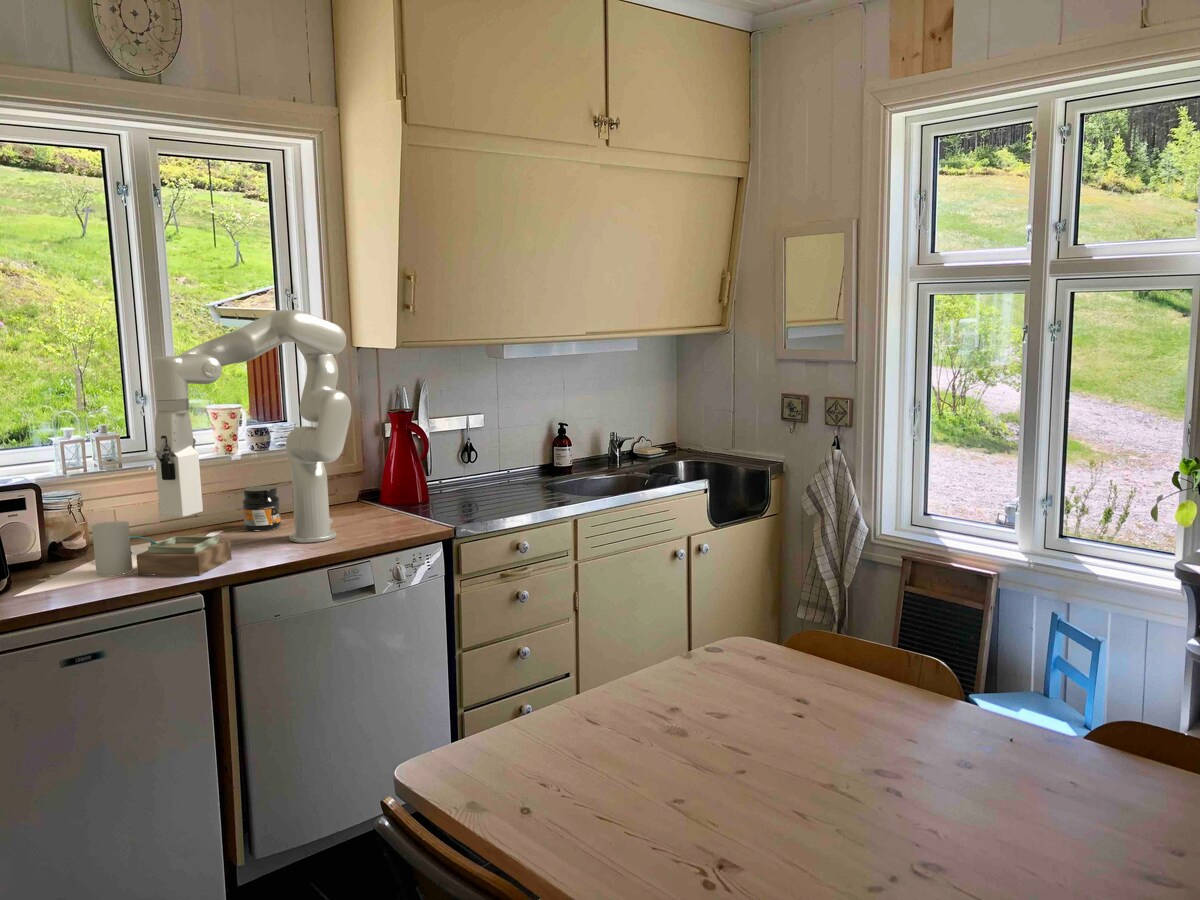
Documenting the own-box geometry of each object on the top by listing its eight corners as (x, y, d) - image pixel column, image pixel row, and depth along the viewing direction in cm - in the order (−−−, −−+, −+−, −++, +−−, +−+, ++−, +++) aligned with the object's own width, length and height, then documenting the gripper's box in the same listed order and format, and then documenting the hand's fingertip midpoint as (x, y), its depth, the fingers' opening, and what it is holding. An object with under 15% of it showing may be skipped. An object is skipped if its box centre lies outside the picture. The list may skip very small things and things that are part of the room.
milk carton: (203, 511, 246) (197, 437, 243) (182, 517, 239) (176, 440, 237) (180, 510, 248) (174, 436, 246) (159, 516, 242) (153, 440, 239)
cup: (139, 567, 246) (135, 521, 245) (120, 576, 238) (116, 528, 237) (108, 567, 247) (104, 521, 246) (89, 576, 239) (84, 528, 237)
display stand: (173, 558, 255) (171, 534, 254) (231, 559, 253) (229, 534, 252) (137, 575, 239) (135, 549, 238) (199, 575, 237) (197, 549, 236)
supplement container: (260, 533, 283) (257, 492, 281) (236, 529, 289) (233, 489, 287) (289, 526, 292) (286, 486, 290) (265, 523, 297) (262, 484, 296)
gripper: (177, 403, 249) (182, 471, 252) (138, 410, 232) (144, 482, 234) (205, 403, 248) (210, 471, 251) (167, 410, 231) (173, 482, 234)
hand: (178, 476), depth 243 cm, fingers closed on milk carton, 8 cm apart
